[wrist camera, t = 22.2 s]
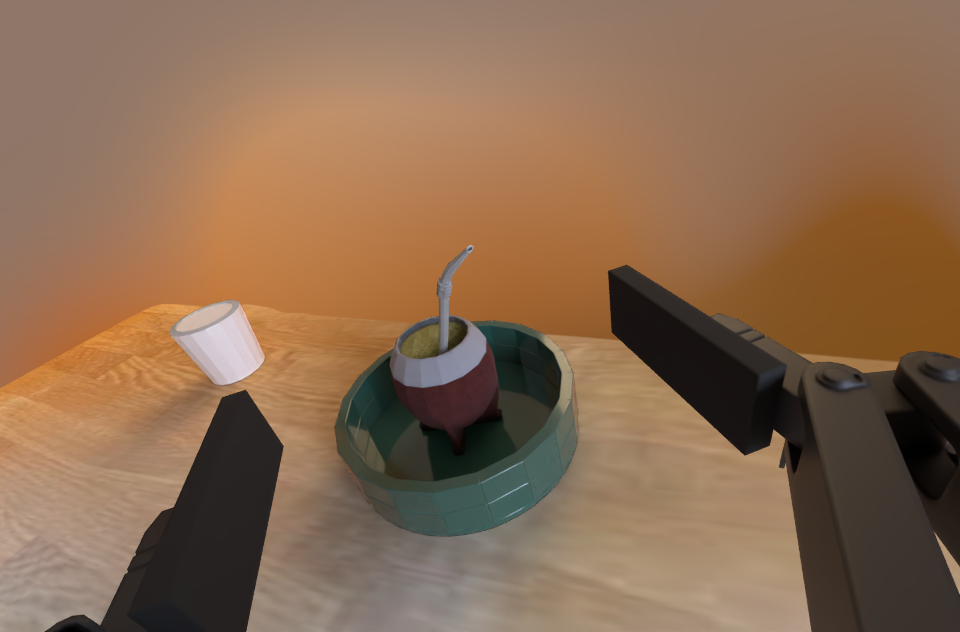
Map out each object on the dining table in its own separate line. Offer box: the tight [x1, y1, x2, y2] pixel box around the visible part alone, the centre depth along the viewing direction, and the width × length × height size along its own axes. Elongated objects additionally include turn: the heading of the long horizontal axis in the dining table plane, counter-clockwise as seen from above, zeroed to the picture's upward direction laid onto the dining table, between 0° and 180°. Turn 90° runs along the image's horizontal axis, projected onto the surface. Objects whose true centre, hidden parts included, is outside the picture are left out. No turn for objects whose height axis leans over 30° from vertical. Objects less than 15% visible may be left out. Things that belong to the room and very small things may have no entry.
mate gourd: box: [390, 246, 502, 456], centre depth 27 cm, size 8×8×15 cm
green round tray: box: [334, 321, 579, 536], centre depth 30 cm, size 17×17×4 cm
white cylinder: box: [169, 300, 265, 385], centre depth 45 cm, size 7×7×7 cm
